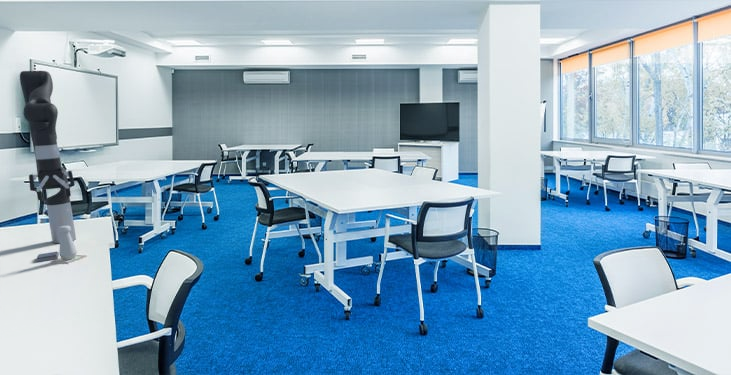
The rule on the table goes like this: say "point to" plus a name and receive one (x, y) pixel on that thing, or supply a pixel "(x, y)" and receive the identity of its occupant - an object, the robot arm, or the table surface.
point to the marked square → (68, 260)
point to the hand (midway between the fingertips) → (55, 199)
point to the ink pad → (47, 256)
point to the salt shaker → (66, 244)
